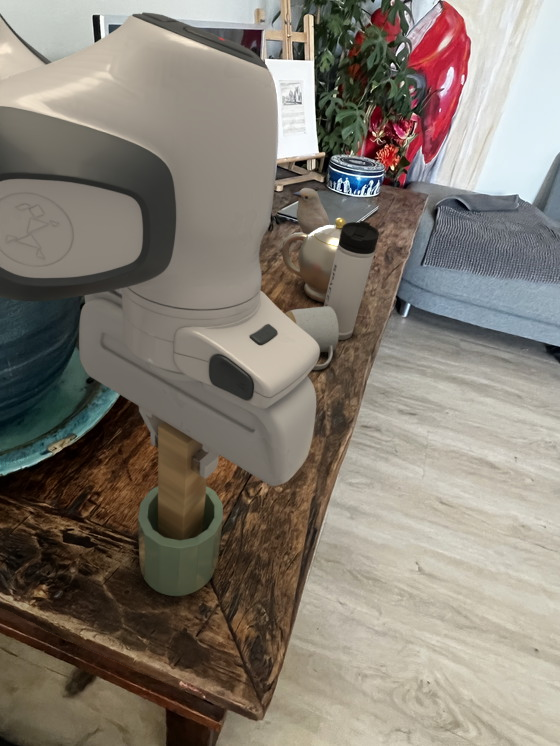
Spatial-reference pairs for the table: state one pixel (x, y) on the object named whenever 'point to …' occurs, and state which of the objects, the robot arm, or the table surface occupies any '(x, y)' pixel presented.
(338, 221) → the teapot
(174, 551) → the pot
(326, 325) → the ceramic mug
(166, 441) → the long wooden block
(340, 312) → the travel mug
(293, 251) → the table surface
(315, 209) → the bird
